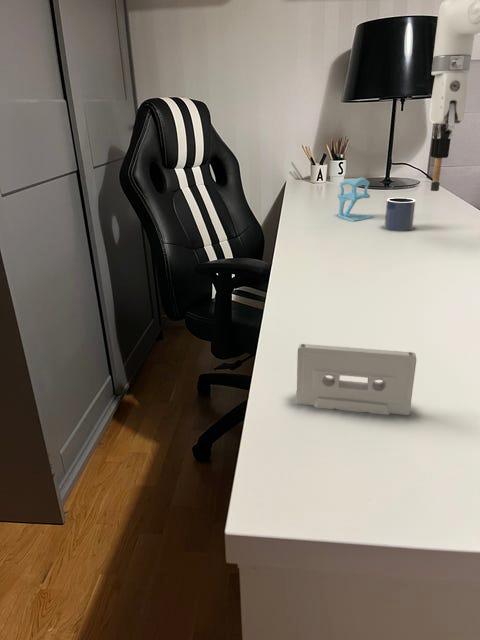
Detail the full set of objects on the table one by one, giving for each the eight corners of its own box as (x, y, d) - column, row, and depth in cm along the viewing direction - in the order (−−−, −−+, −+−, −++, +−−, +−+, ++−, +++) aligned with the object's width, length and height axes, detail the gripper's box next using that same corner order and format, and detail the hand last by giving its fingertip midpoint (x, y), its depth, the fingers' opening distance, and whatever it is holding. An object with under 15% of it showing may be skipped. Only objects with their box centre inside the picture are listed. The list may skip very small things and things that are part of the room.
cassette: (294, 411, 55) (296, 349, 52) (297, 402, 56) (298, 341, 53) (409, 424, 52) (418, 358, 49) (408, 414, 54) (416, 350, 51)
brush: (437, 189, 117) (445, 130, 112) (439, 191, 115) (447, 131, 110) (429, 189, 117) (437, 130, 112) (431, 191, 116) (439, 131, 110)
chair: (350, 215, 151) (352, 174, 146) (372, 219, 145) (375, 177, 140) (332, 219, 147) (334, 176, 142) (353, 223, 141) (356, 179, 136)
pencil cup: (408, 227, 134) (411, 197, 131) (414, 234, 128) (418, 202, 125) (381, 228, 135) (384, 197, 132) (386, 234, 128) (389, 202, 125)
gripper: (482, 63, 99) (467, 160, 106) (457, 68, 113) (445, 154, 120) (443, 64, 99) (431, 161, 107) (423, 69, 114) (413, 154, 121)
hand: (439, 156), depth 113 cm, fingers closed on brush, 1 cm apart
